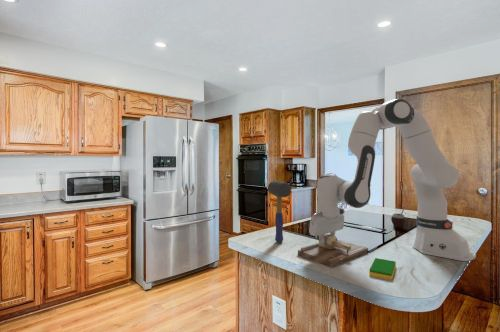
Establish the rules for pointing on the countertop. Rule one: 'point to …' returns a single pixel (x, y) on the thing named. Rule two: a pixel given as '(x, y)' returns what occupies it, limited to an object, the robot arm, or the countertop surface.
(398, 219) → the mate gourd
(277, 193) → the rubber mallet
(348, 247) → the marking gauge
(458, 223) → the countertop surface
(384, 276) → the dish sponge
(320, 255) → the walnut board
